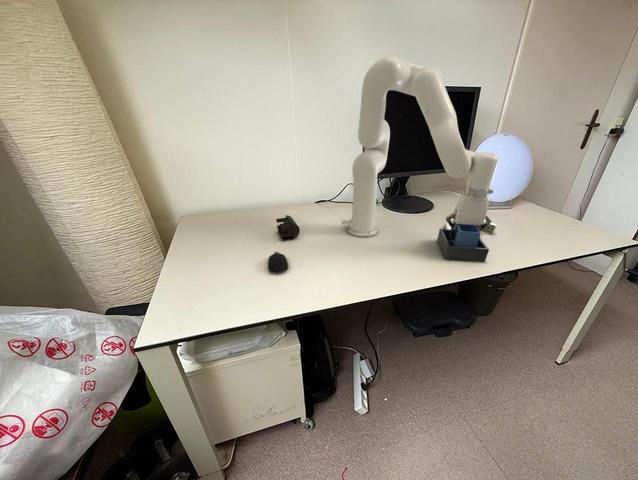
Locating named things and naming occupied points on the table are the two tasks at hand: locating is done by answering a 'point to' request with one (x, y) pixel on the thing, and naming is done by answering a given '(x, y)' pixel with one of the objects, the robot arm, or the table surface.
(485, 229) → the medication box
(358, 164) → the robot arm
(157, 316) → the table surface
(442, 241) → the box
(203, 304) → the table surface
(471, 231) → the blue bin
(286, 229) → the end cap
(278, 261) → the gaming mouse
